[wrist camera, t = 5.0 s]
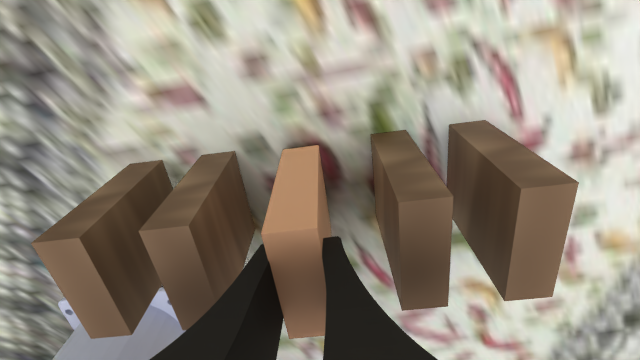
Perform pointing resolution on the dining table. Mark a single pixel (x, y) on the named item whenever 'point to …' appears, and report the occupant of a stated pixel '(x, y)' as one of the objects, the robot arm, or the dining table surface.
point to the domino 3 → (299, 240)
